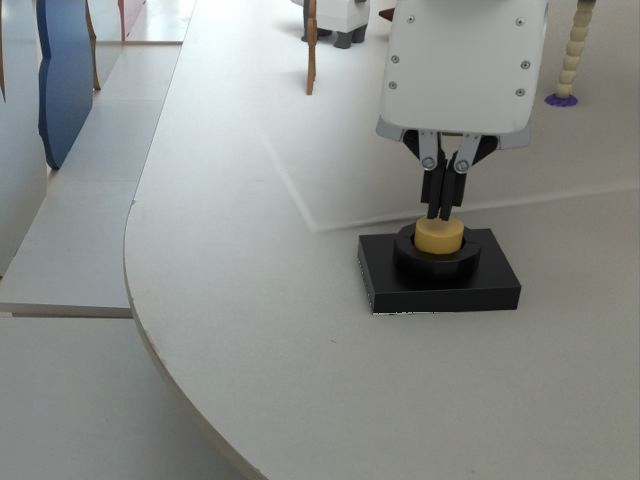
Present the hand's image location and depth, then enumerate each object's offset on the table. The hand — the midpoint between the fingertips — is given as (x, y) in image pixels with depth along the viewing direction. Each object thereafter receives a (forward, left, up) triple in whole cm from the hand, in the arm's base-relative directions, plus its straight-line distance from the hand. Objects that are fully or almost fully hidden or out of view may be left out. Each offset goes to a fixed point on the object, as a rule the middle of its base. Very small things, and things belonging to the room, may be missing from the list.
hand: (440, 211), depth 61 cm
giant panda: (+2, -66, -7) cm, 66 cm away
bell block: (0, 0, -7) cm, 7 cm away
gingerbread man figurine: (+6, -44, -7) cm, 45 cm away
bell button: (0, 0, -3) cm, 3 cm away
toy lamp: (-21, -33, -7) cm, 40 cm away
